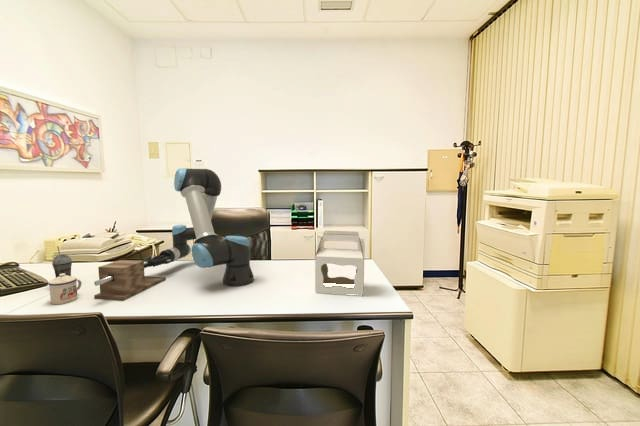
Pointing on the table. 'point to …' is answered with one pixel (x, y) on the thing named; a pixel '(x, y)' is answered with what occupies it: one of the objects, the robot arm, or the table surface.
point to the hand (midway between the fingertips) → (136, 268)
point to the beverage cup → (62, 264)
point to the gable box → (339, 263)
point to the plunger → (104, 280)
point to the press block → (125, 280)
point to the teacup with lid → (64, 289)
